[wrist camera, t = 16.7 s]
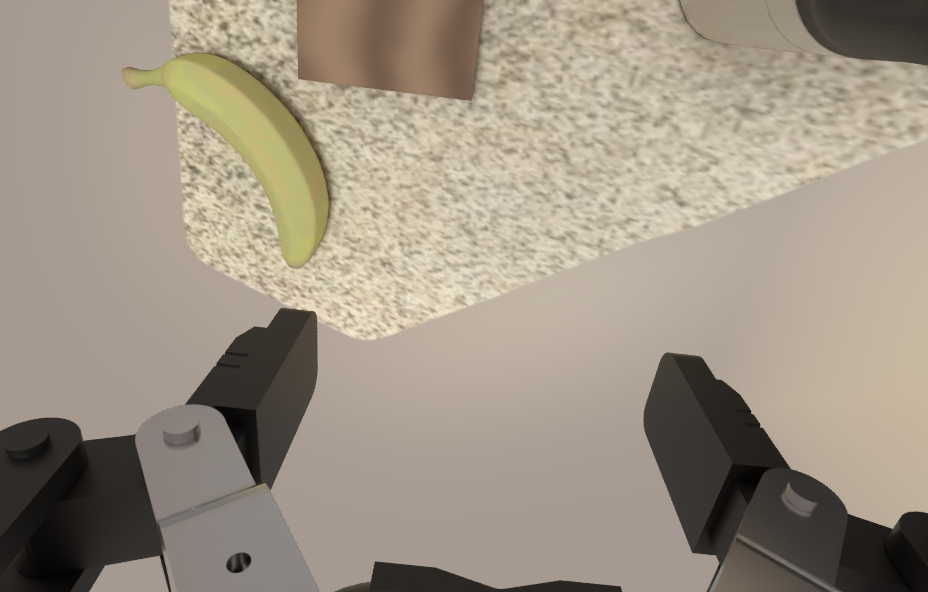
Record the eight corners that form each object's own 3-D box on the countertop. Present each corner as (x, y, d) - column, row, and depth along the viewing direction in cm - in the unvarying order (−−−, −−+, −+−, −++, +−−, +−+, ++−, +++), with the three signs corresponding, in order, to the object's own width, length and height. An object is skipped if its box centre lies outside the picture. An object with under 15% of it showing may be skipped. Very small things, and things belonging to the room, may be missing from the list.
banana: (374, 148, 47) (161, 3, 44) (349, 172, 42) (110, 12, 40) (316, 256, 55) (132, 139, 52) (289, 286, 50) (87, 160, 47)
